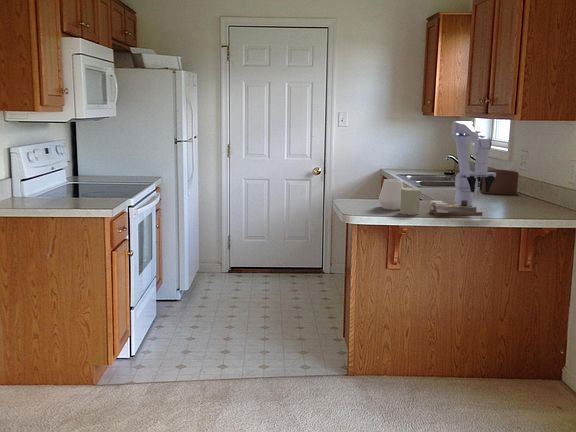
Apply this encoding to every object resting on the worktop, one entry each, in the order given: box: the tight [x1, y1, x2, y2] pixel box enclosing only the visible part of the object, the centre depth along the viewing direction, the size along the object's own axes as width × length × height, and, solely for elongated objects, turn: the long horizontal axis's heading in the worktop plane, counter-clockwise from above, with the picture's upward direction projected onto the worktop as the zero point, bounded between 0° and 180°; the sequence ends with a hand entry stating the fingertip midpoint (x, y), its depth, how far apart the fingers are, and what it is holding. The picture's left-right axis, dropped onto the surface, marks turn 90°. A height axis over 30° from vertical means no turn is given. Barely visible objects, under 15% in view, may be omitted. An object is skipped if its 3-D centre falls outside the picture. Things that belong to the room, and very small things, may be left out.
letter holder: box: [478, 169, 520, 196], centre depth 377 cm, size 10×20×14 cm, turn 81°
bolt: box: [449, 200, 468, 207], centre depth 307 cm, size 3×10×4 cm, turn 100°
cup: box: [378, 178, 404, 211], centre depth 318 cm, size 13×13×14 cm
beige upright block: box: [399, 187, 421, 216], centre depth 305 cm, size 9×9×12 cm
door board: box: [429, 200, 483, 217], centre depth 307 cm, size 10×22×6 cm, turn 100°
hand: (479, 192), depth 305 cm, fingers open, 7 cm apart
